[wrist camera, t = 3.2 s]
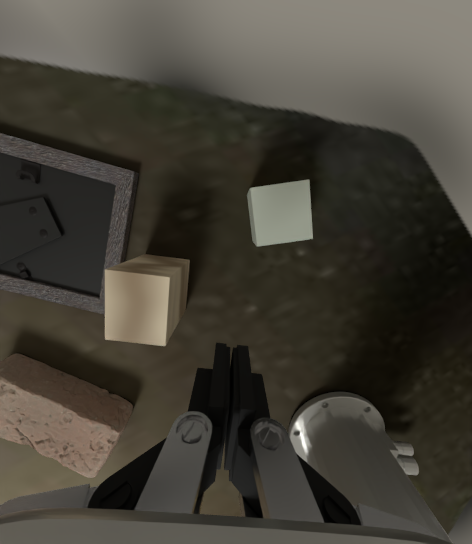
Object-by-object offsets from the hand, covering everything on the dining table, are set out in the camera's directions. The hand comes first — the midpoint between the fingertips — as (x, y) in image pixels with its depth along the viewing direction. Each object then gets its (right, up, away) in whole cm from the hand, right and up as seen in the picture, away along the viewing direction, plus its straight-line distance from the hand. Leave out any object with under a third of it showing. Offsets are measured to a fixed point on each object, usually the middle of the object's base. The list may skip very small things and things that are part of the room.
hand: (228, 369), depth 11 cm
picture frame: (-22, +11, +13) cm, 28 cm away
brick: (-22, -12, +18) cm, 31 cm away
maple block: (-8, +4, +14) cm, 17 cm away
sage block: (+4, +11, +13) cm, 18 cm away
